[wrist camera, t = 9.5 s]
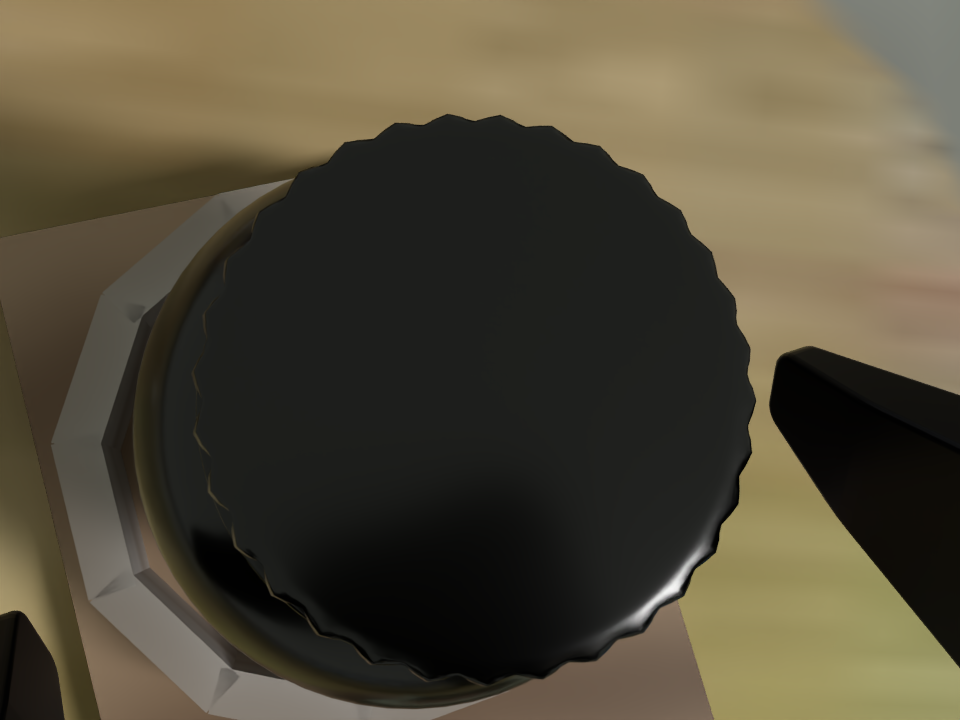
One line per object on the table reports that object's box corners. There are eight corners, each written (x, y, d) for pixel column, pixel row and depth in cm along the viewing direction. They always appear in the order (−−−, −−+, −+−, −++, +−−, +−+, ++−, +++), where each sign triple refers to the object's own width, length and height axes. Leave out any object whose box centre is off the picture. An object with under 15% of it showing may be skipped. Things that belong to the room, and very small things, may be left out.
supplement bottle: (156, 343, 18) (-63, 63, 7) (465, 261, 20) (720, -77, 8) (251, 669, 18) (193, 989, 6) (561, 555, 19) (979, 632, 8)
